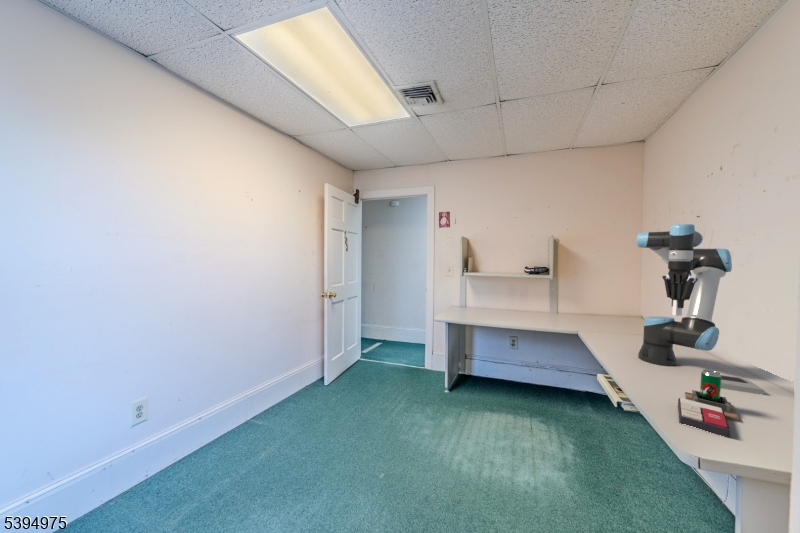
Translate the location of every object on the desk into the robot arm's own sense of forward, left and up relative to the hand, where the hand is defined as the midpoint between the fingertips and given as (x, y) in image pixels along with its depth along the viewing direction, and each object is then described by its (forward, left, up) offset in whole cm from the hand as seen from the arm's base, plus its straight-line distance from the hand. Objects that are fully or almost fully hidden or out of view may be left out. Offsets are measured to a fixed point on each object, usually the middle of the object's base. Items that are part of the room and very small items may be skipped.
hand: (676, 315), depth 126 cm
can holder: (+20, +9, -29) cm, 37 cm away
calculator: (+35, +5, -30) cm, 47 cm away
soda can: (+20, +9, -29) cm, 36 cm away
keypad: (-12, +18, -30) cm, 37 cm away
